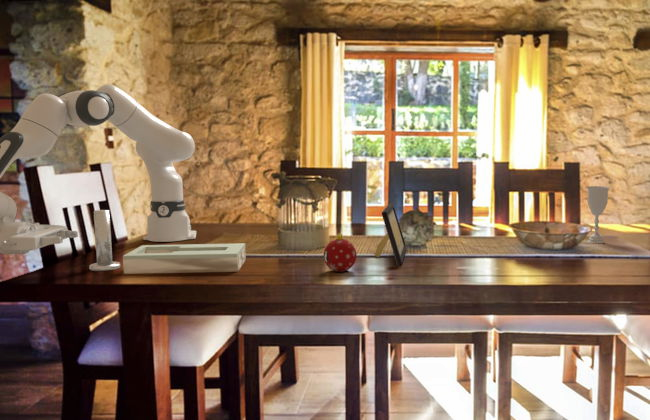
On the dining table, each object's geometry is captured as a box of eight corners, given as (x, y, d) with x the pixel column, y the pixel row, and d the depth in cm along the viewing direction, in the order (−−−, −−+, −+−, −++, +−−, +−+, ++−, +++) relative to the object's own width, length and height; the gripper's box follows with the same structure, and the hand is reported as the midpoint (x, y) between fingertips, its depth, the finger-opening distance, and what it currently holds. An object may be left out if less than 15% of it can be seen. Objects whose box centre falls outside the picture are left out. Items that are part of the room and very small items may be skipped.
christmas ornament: (362, 272, 143) (362, 234, 142) (333, 276, 139) (332, 237, 138) (346, 266, 150) (346, 230, 149) (318, 270, 147) (317, 232, 145)
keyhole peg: (96, 265, 158) (92, 209, 156) (124, 264, 158) (121, 208, 156) (84, 271, 150) (80, 212, 148) (114, 270, 150) (110, 212, 148)
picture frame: (402, 265, 150) (395, 210, 149) (369, 268, 152) (362, 214, 151) (406, 249, 173) (401, 202, 172) (378, 252, 175) (372, 205, 174)
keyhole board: (143, 261, 162) (142, 245, 161) (245, 259, 162) (245, 243, 162) (123, 273, 146) (122, 255, 146) (237, 271, 146) (237, 253, 146)
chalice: (612, 243, 177) (614, 187, 175) (590, 244, 178) (592, 188, 176) (601, 239, 185) (603, 186, 183) (580, 240, 185) (582, 186, 183)
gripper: (-4, 232, 142) (50, 231, 142) (36, 221, 163) (84, 220, 163) (-2, 256, 143) (52, 255, 143) (38, 243, 163) (85, 242, 163)
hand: (69, 237), depth 153 cm, fingers open, 8 cm apart
